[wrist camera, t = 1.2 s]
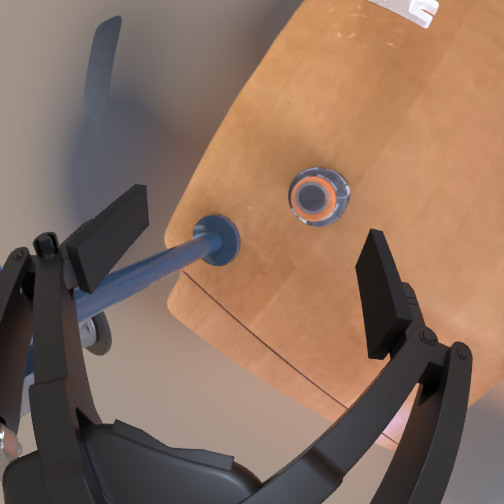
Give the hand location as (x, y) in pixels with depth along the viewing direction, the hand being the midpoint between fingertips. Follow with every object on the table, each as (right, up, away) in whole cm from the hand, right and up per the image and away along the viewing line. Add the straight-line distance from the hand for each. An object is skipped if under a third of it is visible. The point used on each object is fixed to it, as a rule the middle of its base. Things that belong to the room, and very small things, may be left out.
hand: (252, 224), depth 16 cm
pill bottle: (+10, +6, +19) cm, 22 cm away
